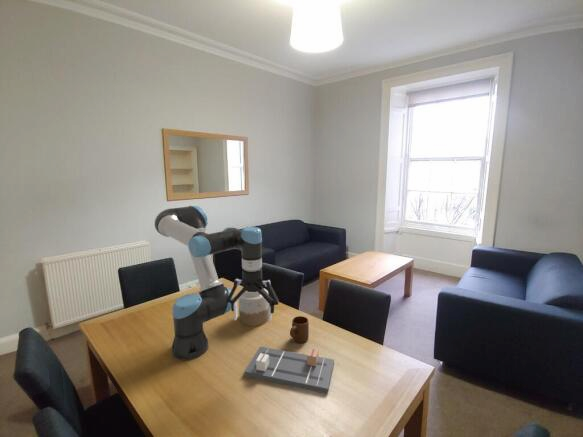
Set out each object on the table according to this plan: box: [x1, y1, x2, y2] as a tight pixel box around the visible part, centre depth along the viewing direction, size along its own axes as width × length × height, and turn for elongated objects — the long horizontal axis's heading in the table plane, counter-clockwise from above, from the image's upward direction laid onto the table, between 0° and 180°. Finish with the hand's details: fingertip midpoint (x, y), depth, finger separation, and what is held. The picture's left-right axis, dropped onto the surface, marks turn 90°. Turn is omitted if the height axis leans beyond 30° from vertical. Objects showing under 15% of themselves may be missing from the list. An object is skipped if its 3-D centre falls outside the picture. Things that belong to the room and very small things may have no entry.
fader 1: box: [256, 353, 269, 371], centre depth 113 cm, size 4×4×4 cm
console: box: [243, 346, 335, 394], centre depth 115 cm, size 32×16×2 cm, turn 74°
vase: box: [238, 288, 269, 327], centre depth 151 cm, size 15×15×17 cm
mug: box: [289, 315, 310, 344], centre depth 132 cm, size 12×8×9 cm, turn 148°
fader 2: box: [306, 348, 319, 366], centre depth 116 cm, size 4×4×4 cm
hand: (252, 319), depth 115 cm, fingers open, 13 cm apart
